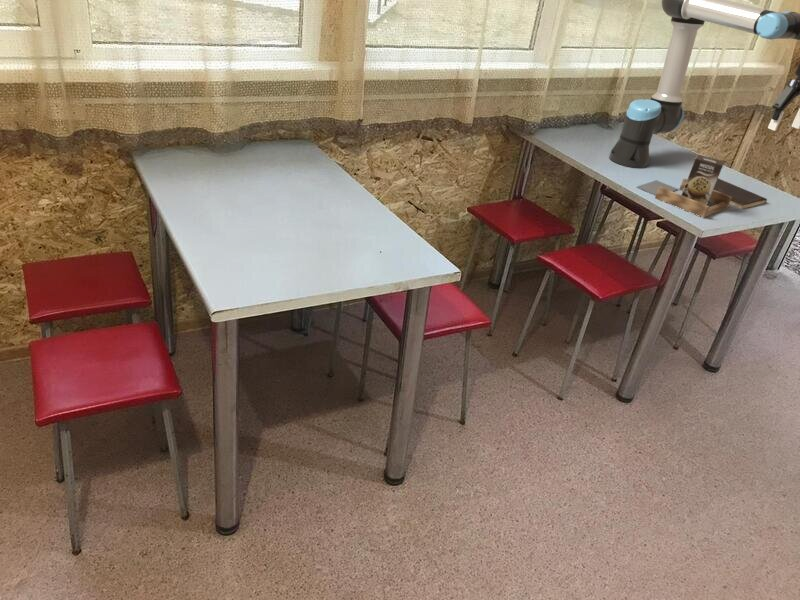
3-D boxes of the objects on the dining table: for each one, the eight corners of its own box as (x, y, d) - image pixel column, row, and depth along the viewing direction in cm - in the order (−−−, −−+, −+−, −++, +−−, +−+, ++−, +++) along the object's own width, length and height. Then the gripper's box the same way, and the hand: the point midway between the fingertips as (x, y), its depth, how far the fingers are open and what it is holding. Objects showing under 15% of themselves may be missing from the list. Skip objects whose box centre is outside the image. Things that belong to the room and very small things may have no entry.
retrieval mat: (636, 187, 236) (636, 186, 235) (656, 181, 244) (656, 180, 244) (658, 196, 230) (658, 195, 230) (677, 189, 239) (678, 188, 238)
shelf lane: (655, 198, 229) (658, 187, 227) (681, 188, 240) (685, 178, 238) (702, 218, 218) (707, 207, 216) (728, 207, 229) (732, 196, 227)
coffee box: (678, 202, 228) (694, 158, 219) (680, 196, 233) (696, 153, 224) (705, 210, 225) (723, 165, 216) (707, 204, 230) (724, 160, 221)
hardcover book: (740, 210, 230) (743, 204, 229) (685, 185, 245) (687, 180, 244) (765, 204, 238) (767, 198, 237) (710, 180, 254) (712, 175, 252)
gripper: (800, 67, 204) (771, 134, 215) (844, 67, 215) (814, 130, 227) (778, 61, 209) (751, 126, 220) (823, 61, 221) (795, 123, 232)
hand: (783, 128), depth 224 cm, fingers open, 13 cm apart
